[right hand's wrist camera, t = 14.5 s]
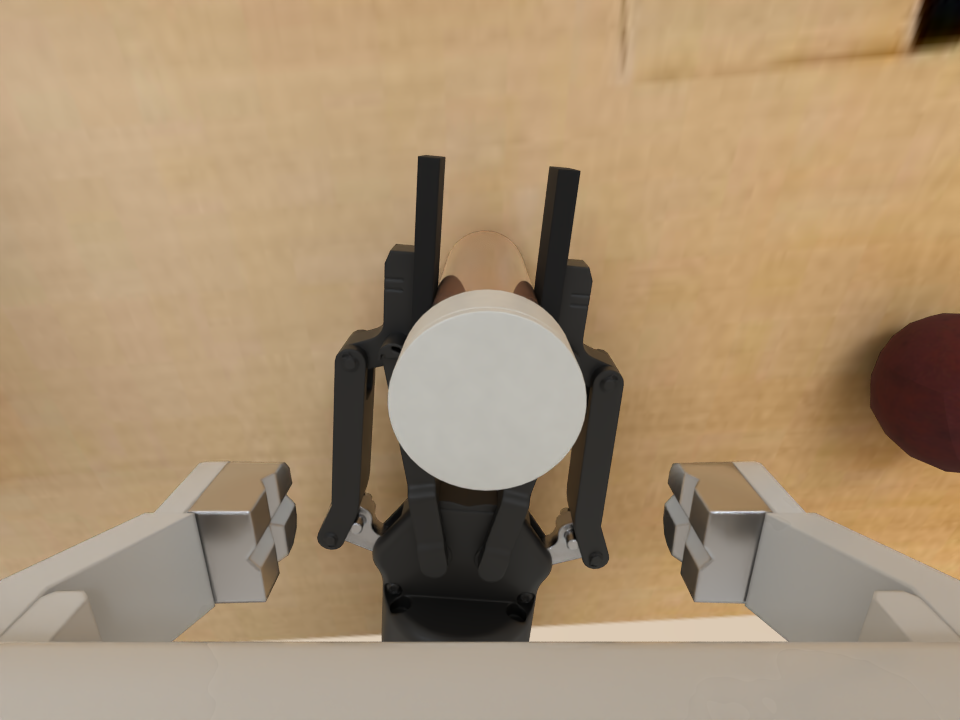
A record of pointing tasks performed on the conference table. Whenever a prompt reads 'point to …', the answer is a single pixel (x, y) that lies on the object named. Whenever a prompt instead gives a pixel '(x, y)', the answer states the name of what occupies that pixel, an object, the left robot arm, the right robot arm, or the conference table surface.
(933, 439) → the dark brown oval lump
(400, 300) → the left robot arm
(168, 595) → the right robot arm
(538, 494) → the conference table surface
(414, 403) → the lid
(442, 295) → the tan cylinder
